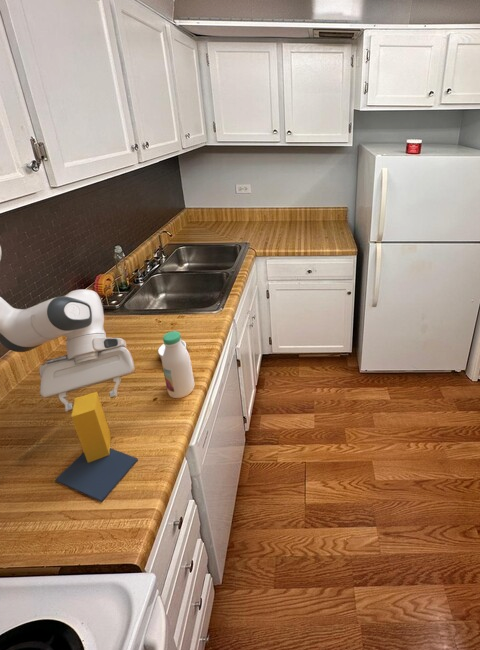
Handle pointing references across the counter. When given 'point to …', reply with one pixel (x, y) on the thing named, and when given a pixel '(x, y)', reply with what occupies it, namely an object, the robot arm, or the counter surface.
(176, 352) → the milk bottle
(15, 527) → the counter surface
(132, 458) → the mat
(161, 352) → the ramekin
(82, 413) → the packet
